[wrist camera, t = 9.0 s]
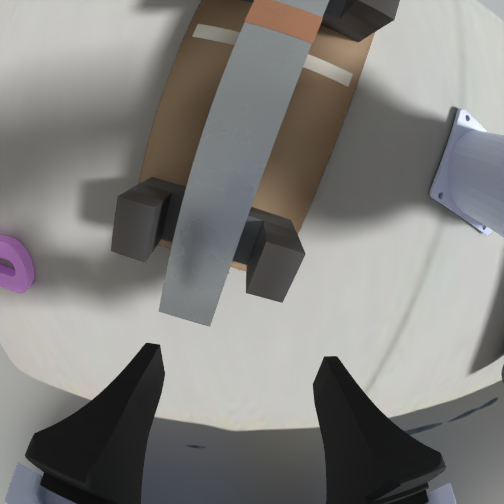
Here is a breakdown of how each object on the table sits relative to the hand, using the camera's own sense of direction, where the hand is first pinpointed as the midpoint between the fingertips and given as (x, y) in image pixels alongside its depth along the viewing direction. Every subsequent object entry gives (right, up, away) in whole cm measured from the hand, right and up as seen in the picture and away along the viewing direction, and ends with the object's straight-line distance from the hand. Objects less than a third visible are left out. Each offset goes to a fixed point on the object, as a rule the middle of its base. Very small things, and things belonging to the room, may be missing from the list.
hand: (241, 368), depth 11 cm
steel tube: (0, +12, +2) cm, 12 cm away
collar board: (+1, +14, +4) cm, 15 cm away
